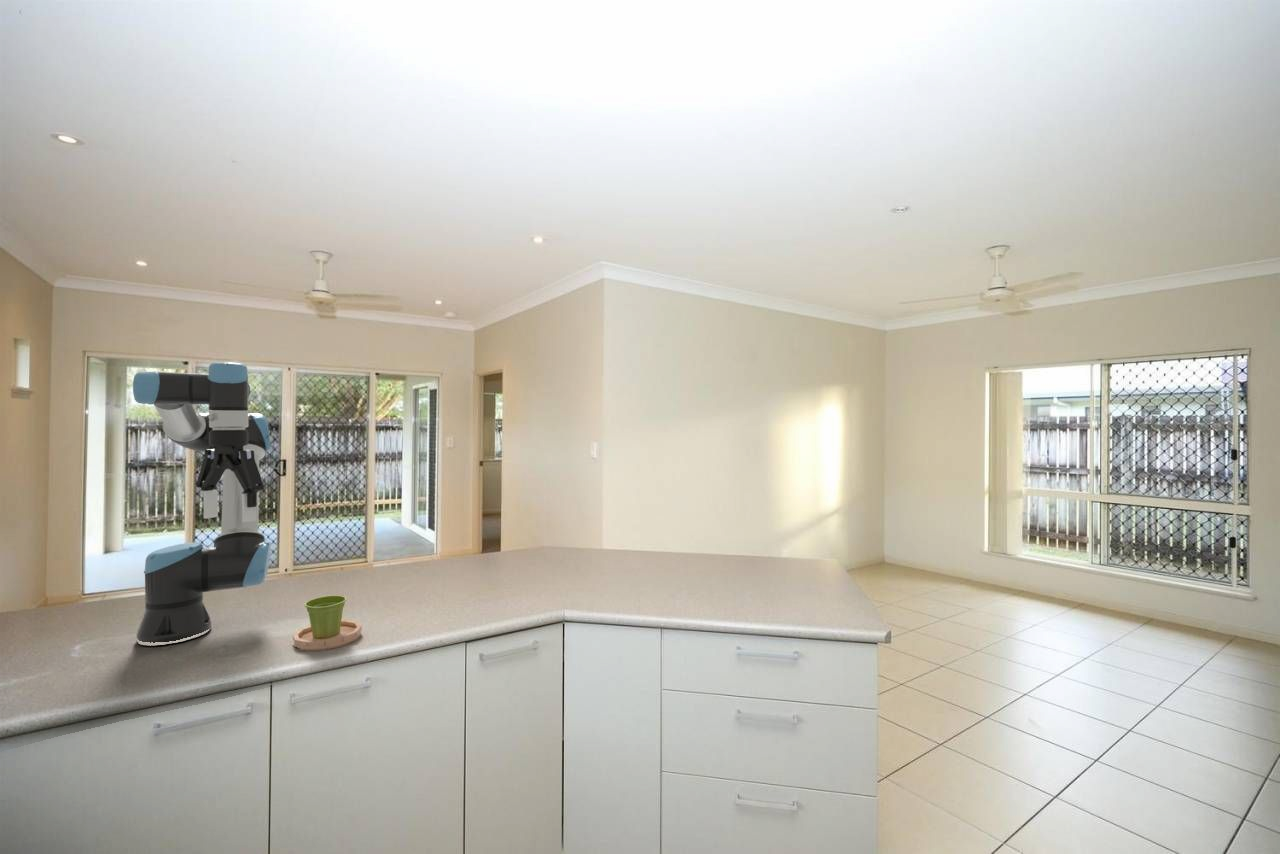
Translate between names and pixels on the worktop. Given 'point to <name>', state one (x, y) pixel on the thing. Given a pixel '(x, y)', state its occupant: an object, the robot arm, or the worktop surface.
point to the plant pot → (325, 615)
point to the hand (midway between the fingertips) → (229, 519)
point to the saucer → (344, 637)
